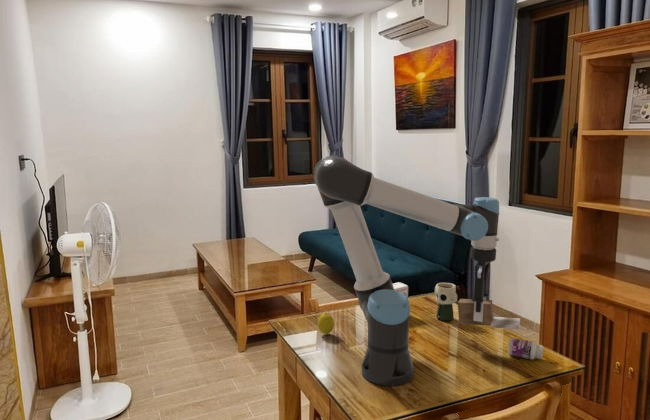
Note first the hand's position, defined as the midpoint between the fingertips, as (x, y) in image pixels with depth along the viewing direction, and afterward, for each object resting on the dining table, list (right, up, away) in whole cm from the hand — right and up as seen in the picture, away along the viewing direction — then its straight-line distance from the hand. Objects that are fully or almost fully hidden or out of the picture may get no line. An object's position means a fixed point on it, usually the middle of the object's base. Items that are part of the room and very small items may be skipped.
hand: (479, 318), depth 159 cm
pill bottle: (+8, -8, -3) cm, 12 cm away
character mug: (-4, -6, +27) cm, 28 cm away
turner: (+4, -1, -2) cm, 4 cm away
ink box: (-22, -6, +31) cm, 39 cm away
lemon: (-49, -9, +13) cm, 51 cm away
